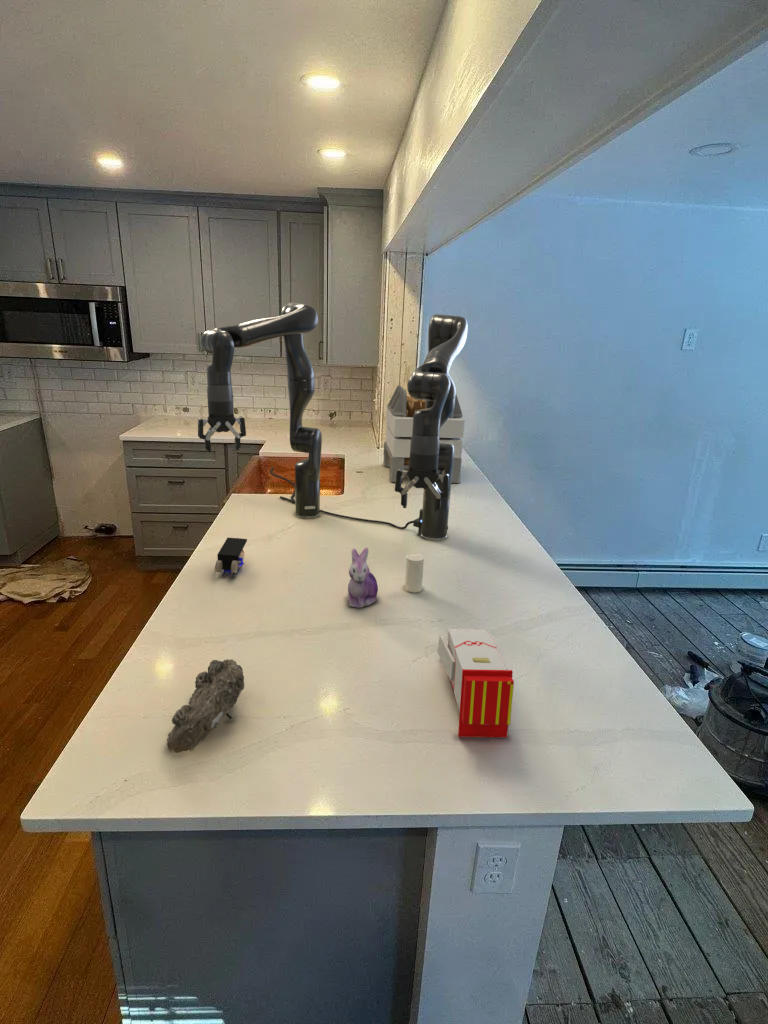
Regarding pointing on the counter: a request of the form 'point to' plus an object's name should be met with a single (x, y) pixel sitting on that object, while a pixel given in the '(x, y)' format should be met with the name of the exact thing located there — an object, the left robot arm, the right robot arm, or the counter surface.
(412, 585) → the canister
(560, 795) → the counter surface
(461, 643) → the toy
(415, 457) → the right robot arm
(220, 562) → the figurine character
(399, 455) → the grey slatted box
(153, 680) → the counter surface
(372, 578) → the figurine
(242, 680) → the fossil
